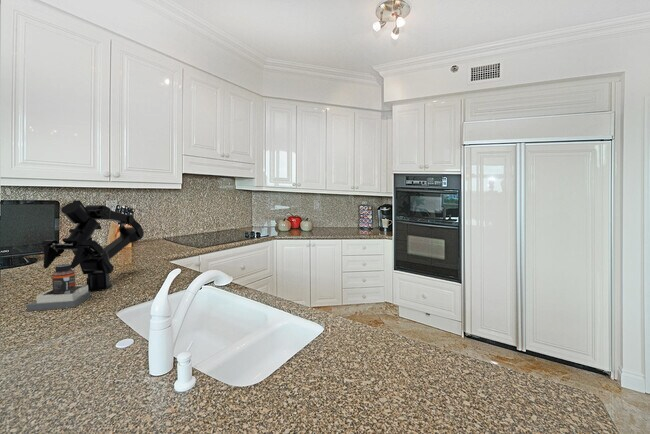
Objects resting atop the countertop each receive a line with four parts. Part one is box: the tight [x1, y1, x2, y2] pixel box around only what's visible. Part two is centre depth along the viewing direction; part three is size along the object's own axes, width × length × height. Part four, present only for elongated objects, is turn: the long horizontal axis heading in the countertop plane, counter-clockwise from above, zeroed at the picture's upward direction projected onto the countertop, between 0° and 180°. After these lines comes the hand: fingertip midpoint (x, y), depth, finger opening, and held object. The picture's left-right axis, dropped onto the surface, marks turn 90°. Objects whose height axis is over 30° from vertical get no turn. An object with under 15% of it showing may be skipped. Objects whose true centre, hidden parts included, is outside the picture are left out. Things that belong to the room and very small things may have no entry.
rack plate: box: [26, 284, 92, 312], centre depth 104 cm, size 13×11×4 cm
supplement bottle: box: [51, 263, 77, 294], centre depth 104 cm, size 6×6×11 cm
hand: (58, 268), depth 102 cm, fingers open, 9 cm apart
